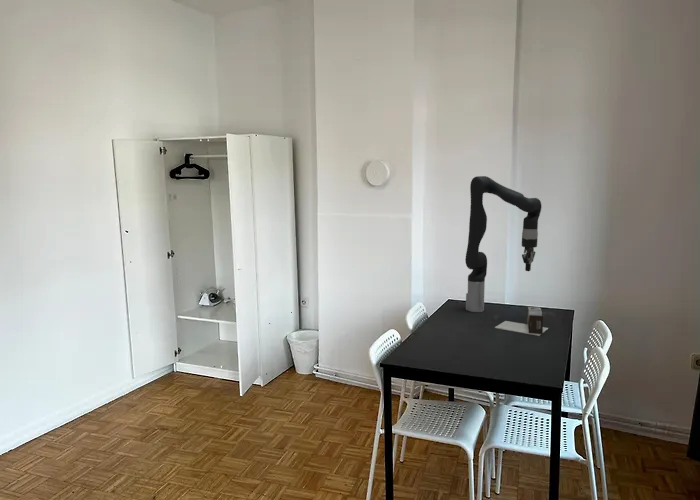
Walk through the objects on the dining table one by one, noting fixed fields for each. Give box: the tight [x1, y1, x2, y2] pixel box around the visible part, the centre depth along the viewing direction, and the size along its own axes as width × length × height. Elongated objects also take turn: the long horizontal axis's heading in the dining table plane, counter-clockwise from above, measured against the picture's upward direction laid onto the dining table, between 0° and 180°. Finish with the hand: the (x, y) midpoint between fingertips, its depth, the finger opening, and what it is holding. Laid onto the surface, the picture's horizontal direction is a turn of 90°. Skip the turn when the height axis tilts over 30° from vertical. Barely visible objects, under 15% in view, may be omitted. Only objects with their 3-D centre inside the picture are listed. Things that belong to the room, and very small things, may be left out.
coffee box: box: [526, 306, 544, 335], centre depth 259 cm, size 9×6×16 cm
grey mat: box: [494, 320, 549, 337], centre depth 262 cm, size 22×14×1 cm, turn 52°
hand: (527, 270), depth 269 cm, fingers closed
